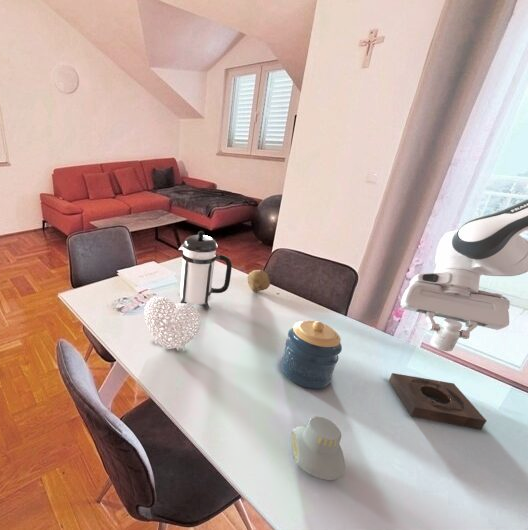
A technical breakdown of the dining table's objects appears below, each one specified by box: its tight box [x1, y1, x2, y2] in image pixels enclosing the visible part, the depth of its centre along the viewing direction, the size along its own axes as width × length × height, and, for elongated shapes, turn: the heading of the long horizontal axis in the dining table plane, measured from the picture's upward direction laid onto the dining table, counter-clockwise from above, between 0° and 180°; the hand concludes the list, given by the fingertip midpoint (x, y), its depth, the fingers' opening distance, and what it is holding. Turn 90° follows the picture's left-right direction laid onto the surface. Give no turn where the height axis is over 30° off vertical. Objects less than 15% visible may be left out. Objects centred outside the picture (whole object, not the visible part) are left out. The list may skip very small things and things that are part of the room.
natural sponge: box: [247, 269, 271, 293], centre depth 133 cm, size 9×9×10 cm
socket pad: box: [388, 372, 488, 430], centre depth 80 cm, size 14×12×3 cm
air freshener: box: [290, 416, 346, 481], centre depth 65 cm, size 11×8×10 cm
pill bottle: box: [430, 318, 463, 352], centre depth 81 cm, size 4×4×8 cm
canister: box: [280, 320, 343, 390], centre depth 87 cm, size 13×13×18 cm
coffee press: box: [178, 230, 233, 310], centre depth 122 cm, size 17×16×30 cm
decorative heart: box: [143, 296, 201, 352], centre depth 98 cm, size 18×11×17 cm, turn 60°
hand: (448, 334), depth 81 cm, fingers closed on pill bottle, 4 cm apart
